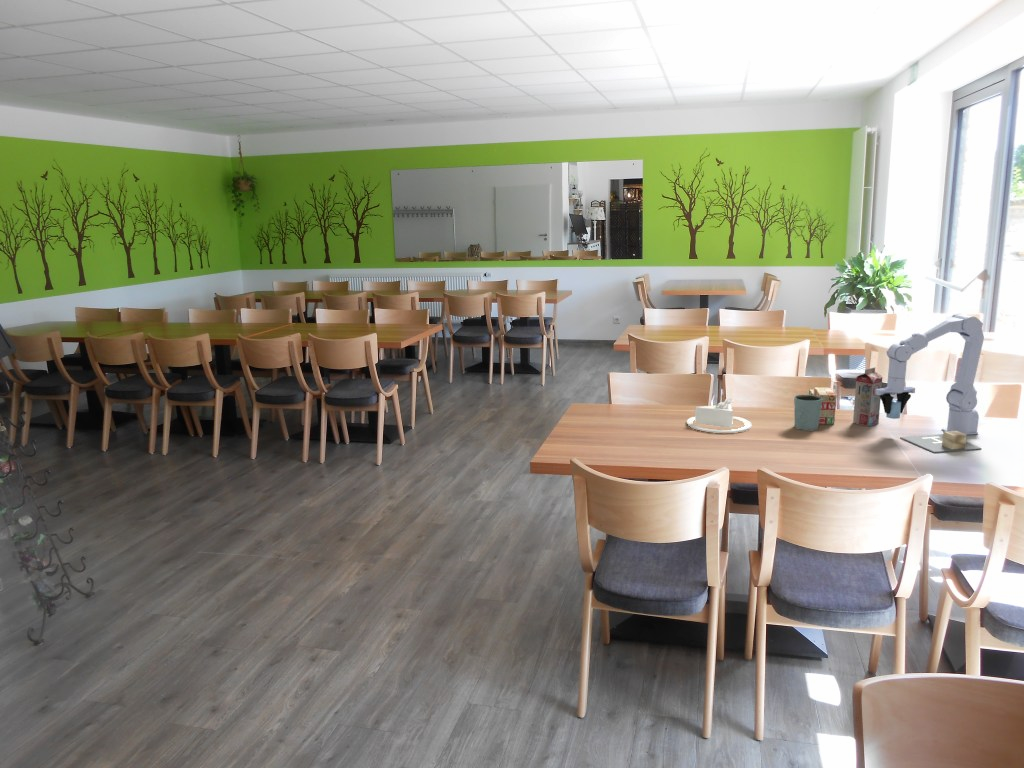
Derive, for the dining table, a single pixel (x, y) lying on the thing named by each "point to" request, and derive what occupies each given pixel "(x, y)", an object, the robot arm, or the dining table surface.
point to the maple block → (954, 440)
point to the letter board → (935, 443)
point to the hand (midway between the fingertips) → (893, 412)
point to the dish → (717, 418)
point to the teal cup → (807, 411)
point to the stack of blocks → (826, 404)
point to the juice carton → (867, 398)
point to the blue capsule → (895, 410)
